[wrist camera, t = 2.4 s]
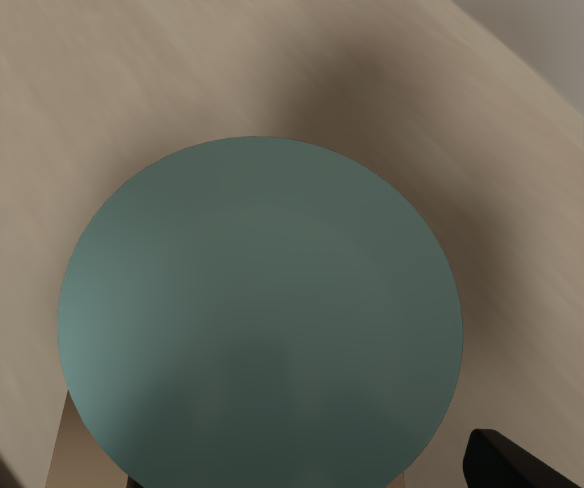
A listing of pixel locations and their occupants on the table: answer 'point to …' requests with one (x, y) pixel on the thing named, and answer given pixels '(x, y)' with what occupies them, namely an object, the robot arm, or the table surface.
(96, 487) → the pocket block
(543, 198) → the table surface
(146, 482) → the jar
